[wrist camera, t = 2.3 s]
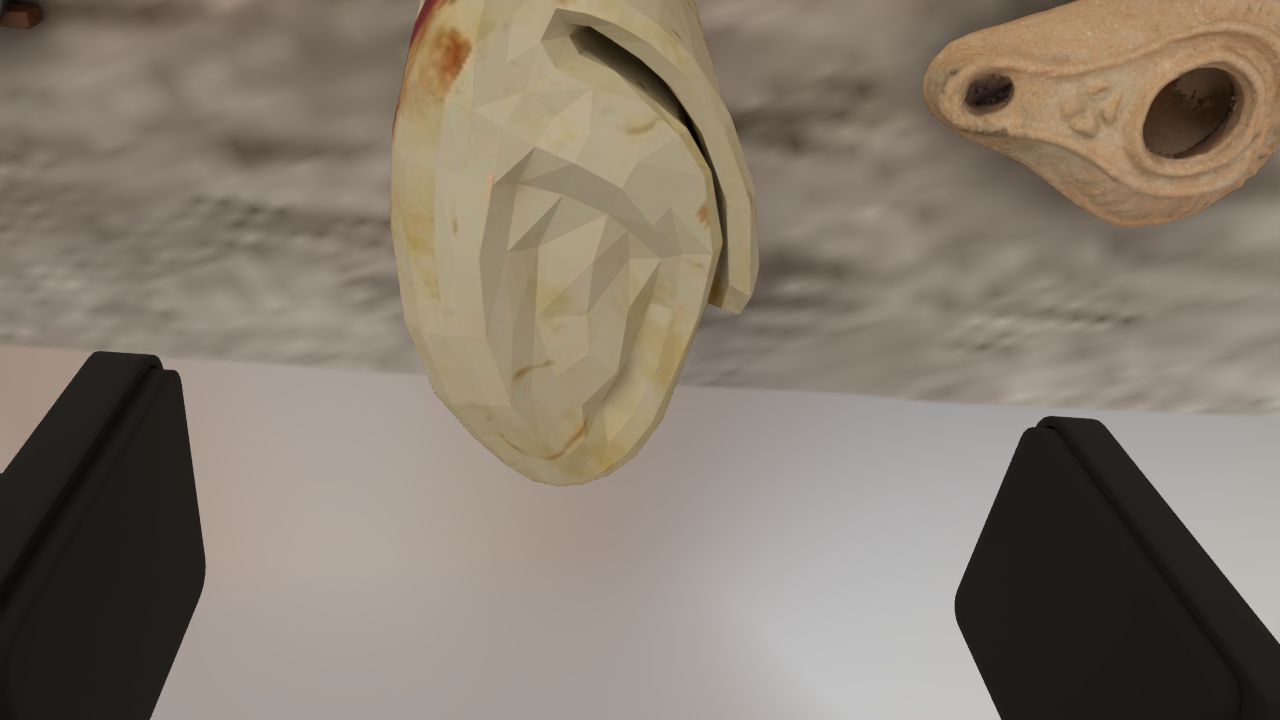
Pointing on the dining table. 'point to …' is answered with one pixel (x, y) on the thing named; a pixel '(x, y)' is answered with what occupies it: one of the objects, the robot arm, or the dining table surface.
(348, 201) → the dining table surface
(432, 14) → the food model
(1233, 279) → the dining table surface
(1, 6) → the sunglasses
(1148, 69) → the pottery oil lamp
